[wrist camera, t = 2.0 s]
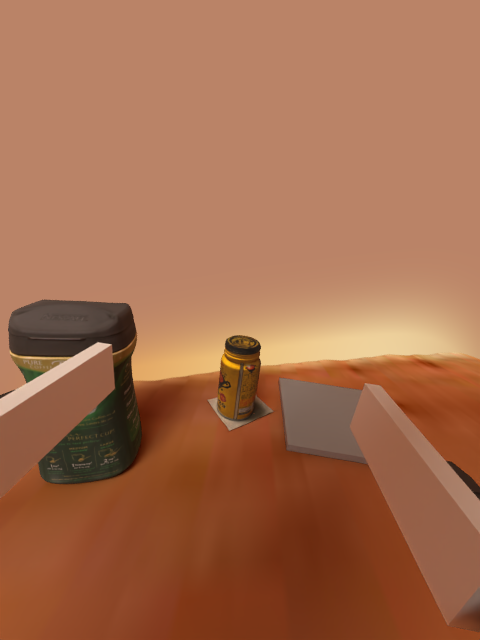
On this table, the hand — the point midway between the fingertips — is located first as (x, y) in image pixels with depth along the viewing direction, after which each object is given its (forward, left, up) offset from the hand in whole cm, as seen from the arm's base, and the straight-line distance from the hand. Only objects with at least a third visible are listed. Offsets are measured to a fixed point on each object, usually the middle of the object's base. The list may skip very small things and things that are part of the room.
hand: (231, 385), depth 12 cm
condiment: (-1, -21, -18) cm, 28 cm away
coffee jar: (+15, -9, -18) cm, 26 cm away
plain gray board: (-17, -22, -18) cm, 33 cm away
